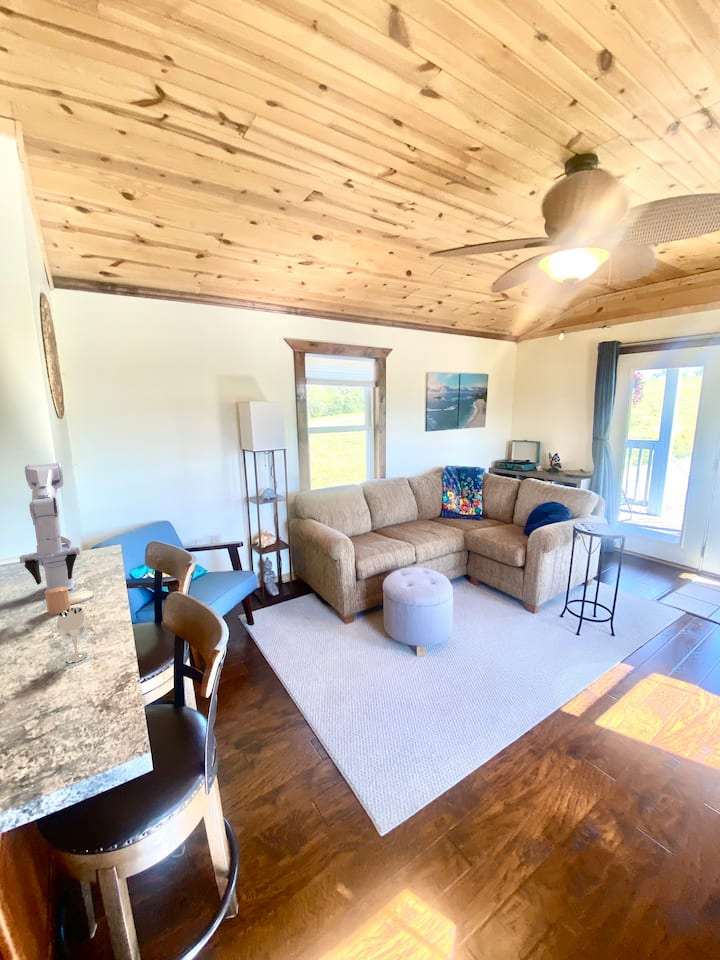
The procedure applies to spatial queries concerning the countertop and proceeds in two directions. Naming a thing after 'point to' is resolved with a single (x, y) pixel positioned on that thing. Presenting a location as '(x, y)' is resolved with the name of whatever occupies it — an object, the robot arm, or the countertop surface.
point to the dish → (80, 596)
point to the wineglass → (72, 628)
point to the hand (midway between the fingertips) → (54, 580)
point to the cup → (57, 600)
